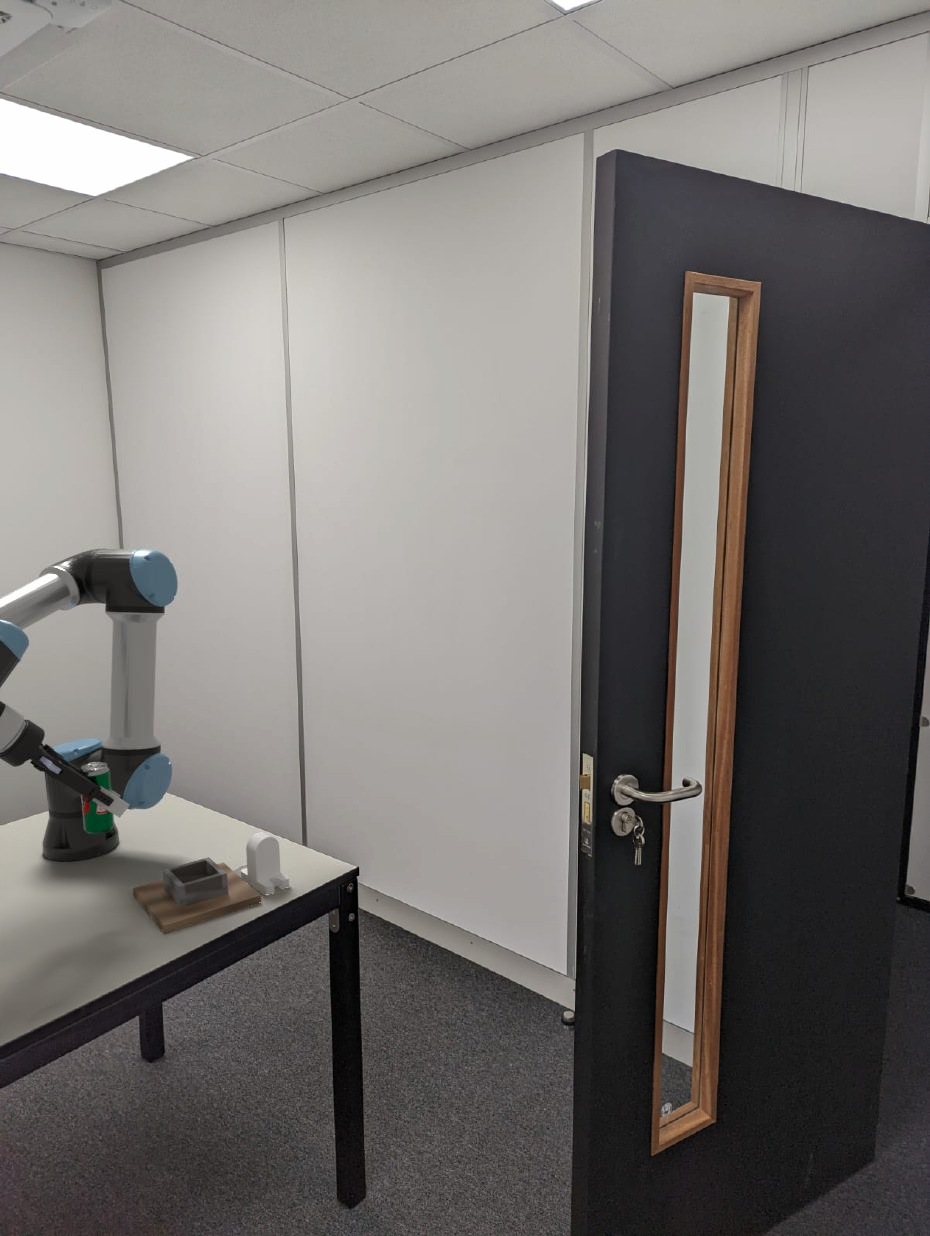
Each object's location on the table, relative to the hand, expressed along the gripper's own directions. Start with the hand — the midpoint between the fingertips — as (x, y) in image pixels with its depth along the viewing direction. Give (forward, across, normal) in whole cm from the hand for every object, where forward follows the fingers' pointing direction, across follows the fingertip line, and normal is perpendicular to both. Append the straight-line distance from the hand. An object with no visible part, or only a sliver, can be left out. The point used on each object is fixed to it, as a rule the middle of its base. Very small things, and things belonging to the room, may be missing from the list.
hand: (119, 806), depth 157 cm
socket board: (+22, +5, -6) cm, 23 cm away
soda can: (0, 0, -5) cm, 5 cm away
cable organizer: (+31, +7, +3) cm, 32 cm away
